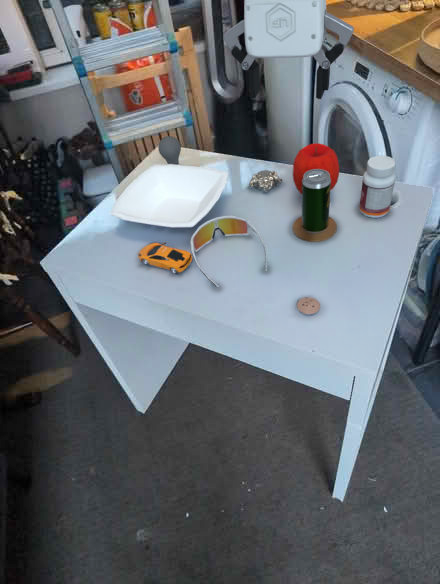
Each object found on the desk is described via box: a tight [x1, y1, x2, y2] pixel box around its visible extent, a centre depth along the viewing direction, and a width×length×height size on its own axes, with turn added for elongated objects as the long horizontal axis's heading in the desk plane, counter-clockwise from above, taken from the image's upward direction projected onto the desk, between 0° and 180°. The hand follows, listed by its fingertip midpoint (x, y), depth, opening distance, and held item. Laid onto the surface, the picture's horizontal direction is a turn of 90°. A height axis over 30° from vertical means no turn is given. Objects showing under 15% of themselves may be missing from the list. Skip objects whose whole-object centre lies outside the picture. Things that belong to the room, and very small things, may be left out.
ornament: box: [248, 169, 283, 192], centre depth 101 cm, size 8×7×4 cm
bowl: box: [109, 163, 229, 229], centre depth 98 cm, size 22×23×6 cm
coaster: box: [292, 215, 338, 243], centre depth 90 cm, size 9×9×1 cm
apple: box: [292, 142, 340, 196], centre depth 93 cm, size 10×10×12 cm
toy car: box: [137, 242, 194, 275], centre depth 88 cm, size 6×12×3 cm, turn 61°
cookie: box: [296, 296, 321, 315], centre depth 75 cm, size 4×4×1 cm
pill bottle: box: [358, 155, 396, 219], centre depth 88 cm, size 6×6×11 cm
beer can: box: [301, 169, 332, 234], centre depth 86 cm, size 5×5×12 cm
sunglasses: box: [189, 215, 268, 288], centre depth 86 cm, size 14×15×5 cm
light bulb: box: [157, 135, 182, 165], centre depth 109 cm, size 6×6×10 cm
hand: (287, 94), depth 63 cm, fingers open, 9 cm apart
